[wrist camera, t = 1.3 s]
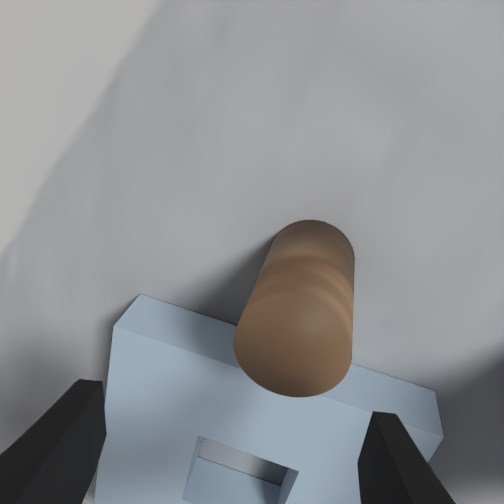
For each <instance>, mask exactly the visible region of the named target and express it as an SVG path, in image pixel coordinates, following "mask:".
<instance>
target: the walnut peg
mask: <svg viewBox="0 0 504 504" xmlns="http://www.w3.org/2000/svg"><path fill="white" fill-rule="evenodd" d="M354 265H355V257H354V251H353V248H352V246H351V243H350V242H349V240H348V239H347V237H346V236H345V235H344V234H343V233H342V232H341V231H340V230H339V229H337V228H336V227H334V226H332V225H330V224H328V223H325V222H322V221H318V220H302V221H298V222H295V223H292V224H290V225H288V226H286V227H285V228H283V229H282V230H281V231H280V232H279V233H278V234H277V235H276V237H275V238H274V240H273V242H272V244H271V246H270V249H269V251H268V253H267V256H266V258H265V261H264V263H263V265H262V268H261V270H260V272H259V275H258V277H257V280H256V282H255V284H254V287H253V289H252V292H251V294H250V296H249V299H248V301H247V303H246V306H245V308H244V311H243V313H242V315H241V318H240V320H239V323H238V325H237V327H236V330H235V333H234V338H233V347H234V353H235V356H236V359H237V361H238V363H239V365H240V367H241V368H242V370H243V371H244V372H245V373H246V375H247V376H248V377H249V378H250V379H251V380H253V381H254V382H255V383H256V384H258V385H259V386H261V387H263V388H264V389H266V390H268V391H271V392H273V393H276V394H279V395H283V396H288V397H297V398H299V397H312V396H316V395H320V394H322V393H325V392H327V391H329V390H331V389H333V388H334V387H335V386H337V385H338V384H339V383H340V382H341V381H342V380H343V379H344V377H345V376H346V374H347V372H348V371H349V368H350V365H351V360H352V333H353V299H354Z"/></svg>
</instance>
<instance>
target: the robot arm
mask: <svg viewBox="0 0 504 504" xmlns="http://www.w3.org/2000/svg"><path fill="white" fill-rule="evenodd" d="M106 436H107V432H106V420H105V407H104V395H103V383H102V381H92V380H83V379H79V380H78V381H76V382H75V383H74V384H73V385H72V386H71V387H70V388H69V389H68V390H67V391H66V393H65V394H64V395H63V396H62V397H61V398H60V399H59V400H58V401H57V402H56V403H55V404H54V405H53V406H52V407H51V408H50V409H49V410H48V411H47V412H46V413H45V414H44V415H43V416H42V417H41V418H40V419H39V420H38V421H37V422H36V423H34V424H33V425H32V426H31V427H30V428H29V429H28V430H27V431H26V432H25V433H24V434H23V435H22V436H21V437H20V438H19V439H18V440H17V441H15V442H14V443H13V444H12V445H11V446H10V447H9V448H8V449H7V450H5V451H4V452H3V453H2V454H1V455H0V504H82V502H83V499H84V497H85V495H86V492H87V490H88V488H89V486H90V483H91V481H92V479H93V476H94V474H95V471H96V468H97V465H98V462H99V459H100V456H101V452H102V449H103V446H104V442H105V439H106ZM357 466H358V478H359V490H360V500H361V504H456V503H455V502H454V501H453V499H452V498H451V497H450V495H449V494H448V492H447V491H446V489H445V488H444V486H443V485H442V484H441V482H440V481H439V479H438V478H437V476H436V475H435V473H434V472H433V470H432V469H431V467H430V466H429V464H428V463H427V461H426V460H425V458H424V457H423V455H422V454H421V452H420V450H419V449H418V447H417V446H416V444H415V443H414V441H413V439H412V438H411V436H410V435H409V433H408V431H407V430H406V428H405V427H404V425H403V423H402V422H401V420H400V418H399V417H398V416H397V414H395V413H386V412H377V411H373V412H372V415H371V419H370V422H369V425H368V429H367V432H366V435H365V438H364V442H363V445H362V448H361V452H360V455H359V458H358V462H357Z"/></svg>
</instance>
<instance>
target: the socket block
mask: <svg viewBox="0 0 504 504" xmlns="http://www.w3.org/2000/svg"><path fill="white" fill-rule="evenodd" d="M236 327H237V326H236V325H233V324H230V323H227V322H223V321H220V320H217V319H214V318H211V317H208V316H205V315H202V314H199V313H196V312H193V311H190V310H187V309H184V308H181V307H178V306H175V305H172V304H169V303H166V302H163V301H160V300H157V299H154V298H151V297H147V296H144V295H141V294H140V295H139V296H138V297H137V299H136V300H135V301H134V302H133V303H132V305H131V306H130V307H129V308H128V309H127V311H126V312H125V313H124V314H123V315H122V316H121V318H120V319H119V320H118V321H117V322H116V324H115V325H114V327H113V336H112V345H111V354H110V362H109V371H108V380H107V389H106V398H105V420H106V432H107V436H106V439H105V442H104V446H103V449H102V452H101V456H100V459H99V462H98V470H97V479H96V488H95V497H94V504H361V500H360V490H359V478H358V466H357V462H358V458H359V455H360V452H361V448H362V445H363V442H364V438H365V435H366V432H367V429H368V425H369V422H370V419H371V415H372V412H373V411H377V412H386V413H395V414H397V416H398V417H399V418H400V420H401V422H402V423H403V425H404V427H405V428H406V430H407V431H408V433H409V435H410V436H411V438H412V439H413V441H414V443H415V444H416V446H417V447H418V449H419V450H420V452H421V454H422V455H423V457H424V458H425V460H426V461H427V463H428V461H429V460H430V458H431V457H432V455H433V454H434V452H435V450H436V449H437V447H438V446H439V444H440V443H441V441H442V439H443V438H444V435H443V430H442V425H441V420H440V415H439V410H438V405H437V400H436V396H435V391H433V390H430V389H427V388H424V387H421V386H418V385H415V384H412V383H409V382H406V381H403V380H400V379H397V378H394V377H391V376H388V375H385V374H382V373H379V372H375V371H372V370H369V369H366V368H363V367H360V366H357V365H354V364H351V365H350V368H349V371H348V372H347V374H346V376H345V377H344V379H343V380H342V381H341V382H340V383H339V384H338V385H337V386H335V387H334V388H333V389H331V390H329V391H327V392H325V393H322V394H320V395H316V396H312V397H299V398H297V397H288V396H283V395H279V394H276V393H273V392H271V391H268V390H266V389H264V388H263V387H261V386H259V385H258V384H256V383H255V382H254V381H253V380H251V379H250V378H249V377H248V376H247V375H246V373H245V372H244V371H243V370H242V368H241V367H240V365H239V363H238V361H237V359H236V356H235V353H234V347H233V338H234V333H235V330H236ZM203 438H206V439H209V440H211V441H214V442H217V443H220V444H223V445H226V446H228V447H231V448H234V449H237V450H240V451H243V452H245V453H248V454H251V455H254V456H257V457H260V458H262V459H265V460H268V461H271V462H274V463H277V464H279V465H282V466H285V467H288V470H287V473H286V475H285V477H284V480H283V482H282V485H281V486H278V485H276V484H273V483H270V482H267V481H264V480H261V479H259V478H256V477H253V476H250V475H247V474H245V473H242V472H239V471H236V470H233V469H231V468H228V467H225V466H222V465H219V464H217V463H214V462H211V461H208V460H205V459H203V458H200V457H198V455H199V451H200V447H201V443H202V440H203Z"/></svg>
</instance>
